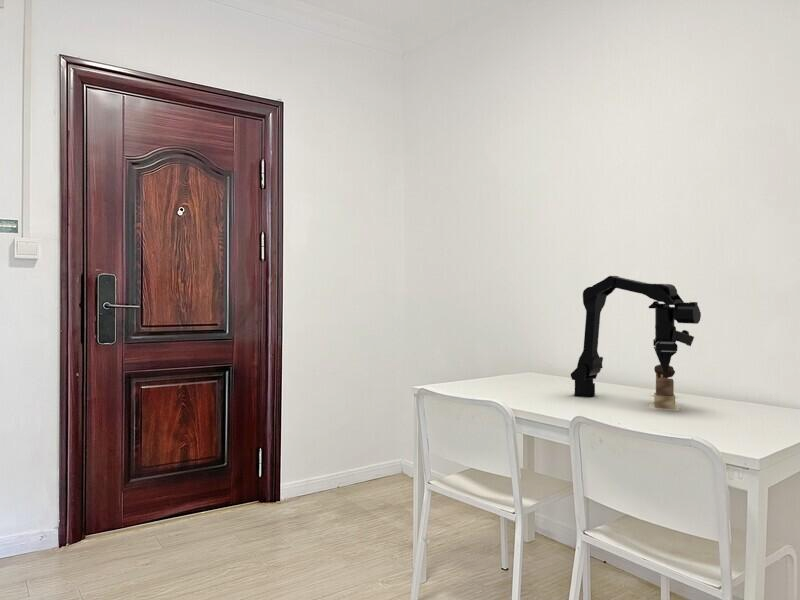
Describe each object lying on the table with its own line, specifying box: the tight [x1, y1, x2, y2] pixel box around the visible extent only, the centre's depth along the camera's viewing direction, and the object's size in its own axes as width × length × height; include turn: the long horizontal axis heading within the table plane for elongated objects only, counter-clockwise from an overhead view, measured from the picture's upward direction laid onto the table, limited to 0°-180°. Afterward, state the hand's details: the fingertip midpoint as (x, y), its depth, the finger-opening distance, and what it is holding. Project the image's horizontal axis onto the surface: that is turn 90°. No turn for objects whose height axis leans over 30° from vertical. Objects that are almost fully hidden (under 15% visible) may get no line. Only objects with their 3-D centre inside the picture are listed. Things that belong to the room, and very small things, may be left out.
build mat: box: [648, 403, 682, 412], centre depth 200 cm, size 22×15×1 cm
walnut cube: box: [655, 377, 675, 396], centre depth 197 cm, size 5×5×5 cm
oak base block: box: [653, 392, 676, 410], centre depth 197 cm, size 6×6×4 cm
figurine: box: [653, 363, 676, 379], centre depth 217 cm, size 6×6×12 cm
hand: (664, 370), depth 197 cm, fingers open, 9 cm apart
